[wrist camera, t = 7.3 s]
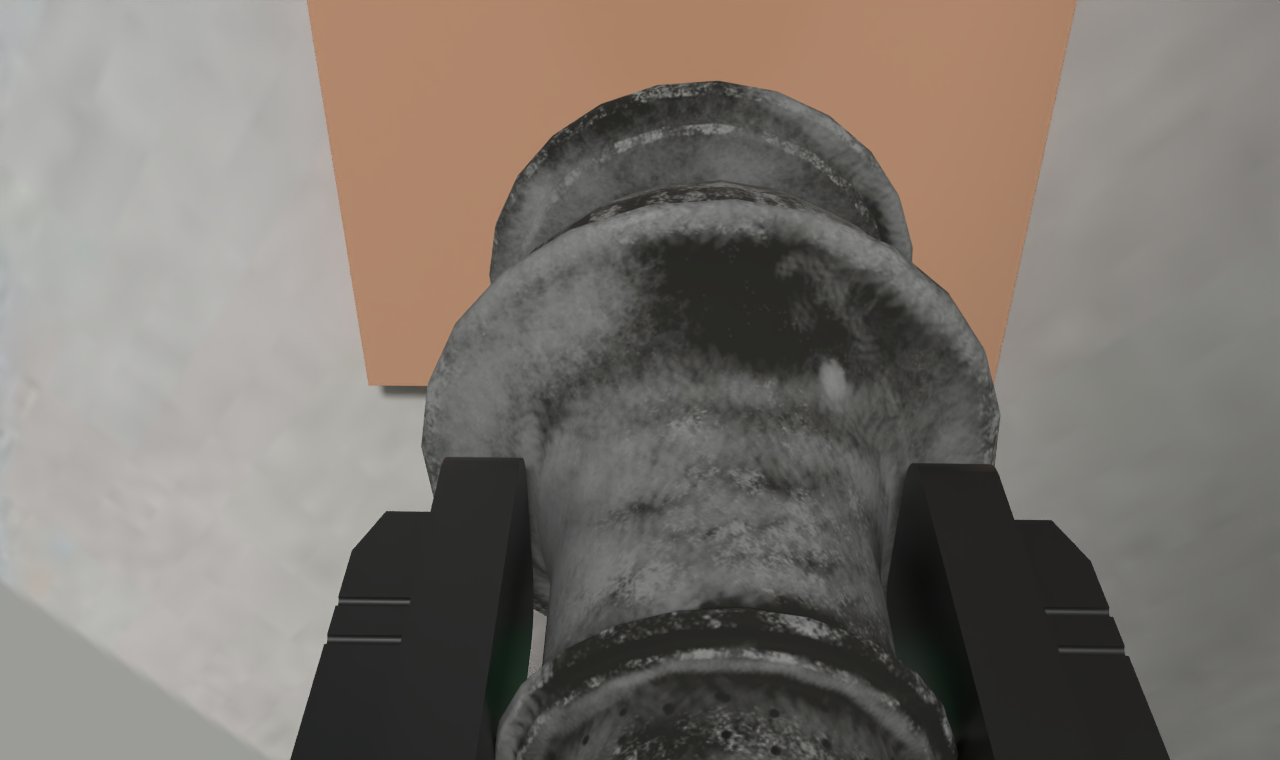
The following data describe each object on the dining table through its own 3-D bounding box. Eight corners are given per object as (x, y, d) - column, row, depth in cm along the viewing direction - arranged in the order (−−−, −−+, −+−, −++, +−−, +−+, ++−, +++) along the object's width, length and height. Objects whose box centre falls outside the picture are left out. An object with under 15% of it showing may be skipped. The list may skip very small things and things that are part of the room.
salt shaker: (604, 512, 18) (534, 1750, 8) (374, 187, 15) (-196, 1546, 5) (997, 364, 16) (1513, 1699, 6) (829, -37, 13) (1323, 1340, 3)
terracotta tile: (269, -337, 17) (253, -331, 16) (1129, -332, 17) (1147, -325, 16) (376, 361, 24) (368, 385, 23) (982, 368, 24) (991, 393, 23)
